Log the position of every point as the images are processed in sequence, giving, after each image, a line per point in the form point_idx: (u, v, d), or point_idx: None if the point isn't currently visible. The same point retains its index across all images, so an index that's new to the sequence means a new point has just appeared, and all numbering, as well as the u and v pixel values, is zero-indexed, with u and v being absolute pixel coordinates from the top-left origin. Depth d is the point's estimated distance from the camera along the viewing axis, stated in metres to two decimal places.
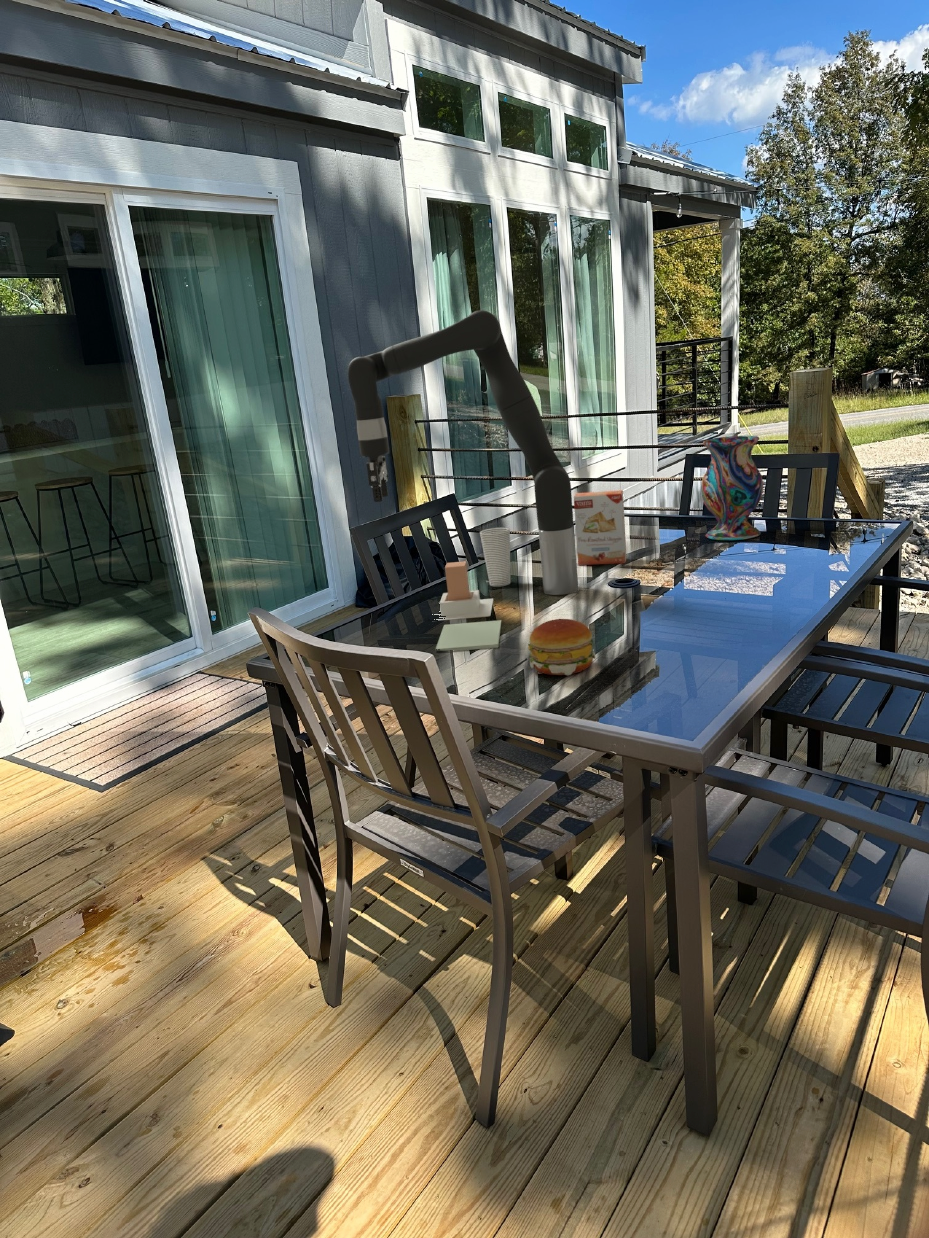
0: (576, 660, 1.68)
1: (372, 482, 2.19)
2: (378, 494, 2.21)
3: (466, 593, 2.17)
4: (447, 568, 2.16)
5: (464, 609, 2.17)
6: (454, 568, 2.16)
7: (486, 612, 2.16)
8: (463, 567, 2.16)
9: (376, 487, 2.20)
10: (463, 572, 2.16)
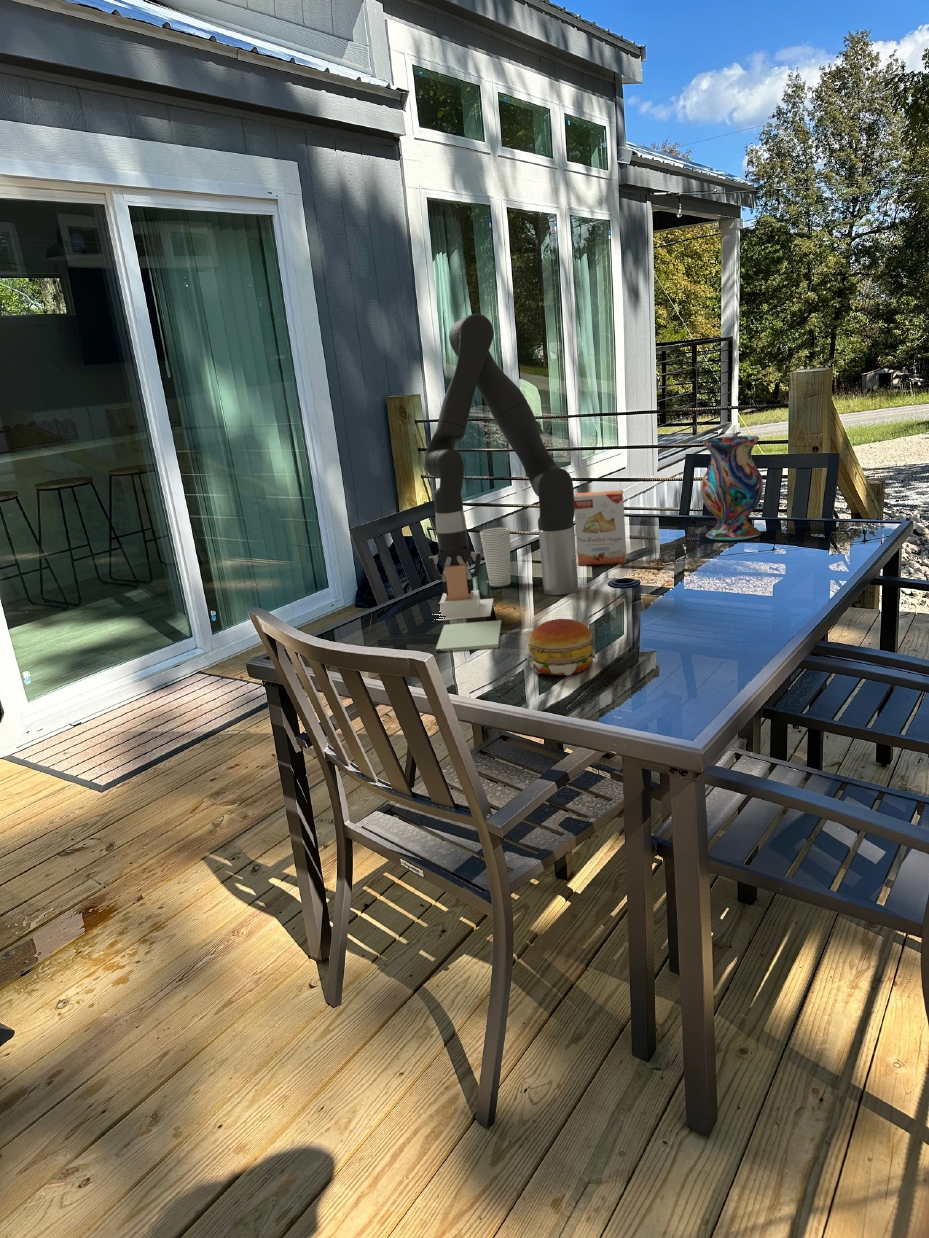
0: (576, 660, 1.68)
1: None
2: None
3: (466, 593, 2.17)
4: (447, 568, 2.16)
5: (464, 609, 2.17)
6: (454, 568, 2.16)
7: (486, 612, 2.16)
8: (463, 567, 2.16)
9: (473, 577, 2.19)
10: (463, 572, 2.16)
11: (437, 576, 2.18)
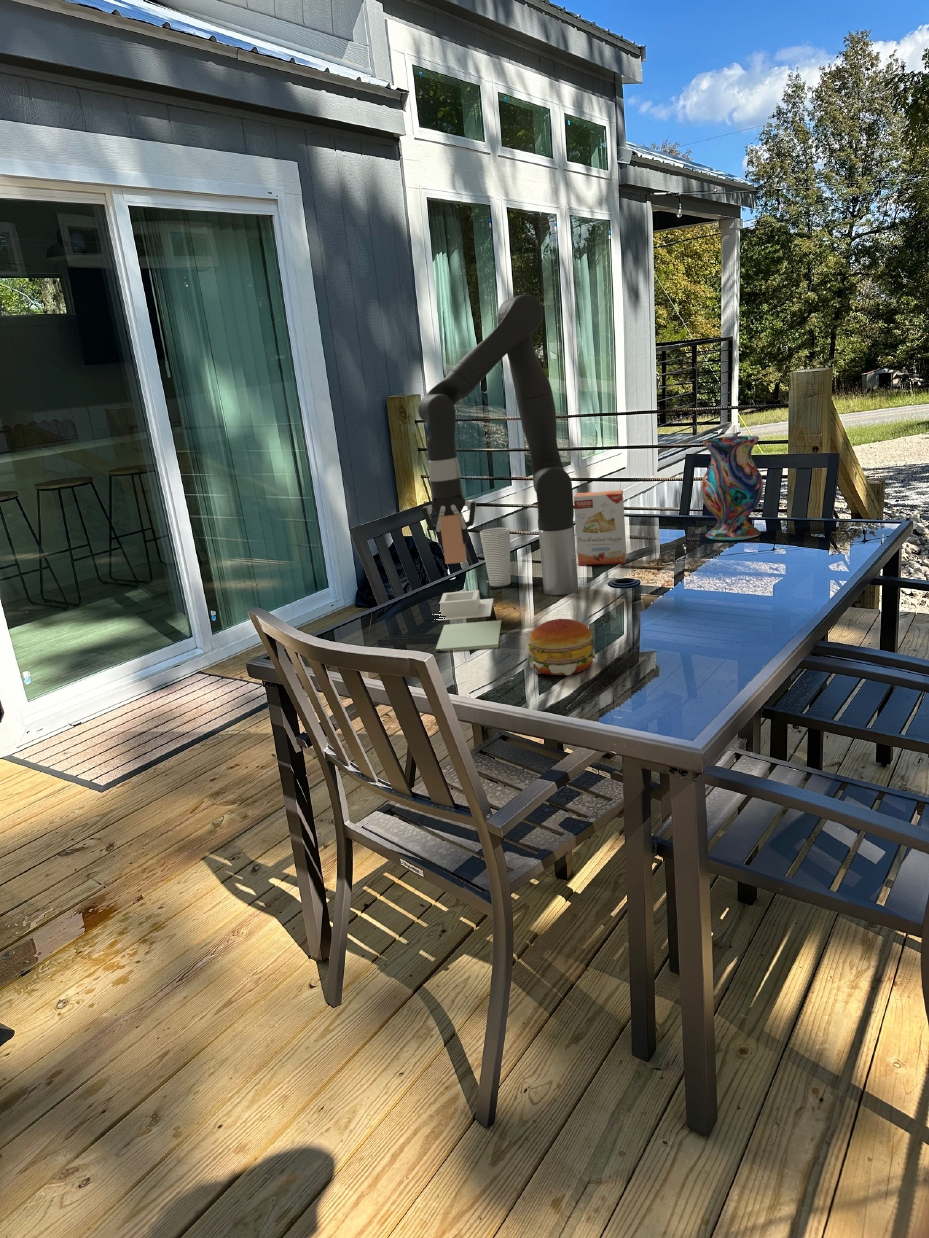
0: (576, 660, 1.68)
1: None
2: None
3: (461, 543, 2.14)
4: (441, 518, 2.12)
5: (464, 609, 2.17)
6: (448, 517, 2.12)
7: (486, 612, 2.16)
8: (457, 516, 2.12)
9: None
10: (458, 521, 2.12)
11: (431, 526, 2.14)
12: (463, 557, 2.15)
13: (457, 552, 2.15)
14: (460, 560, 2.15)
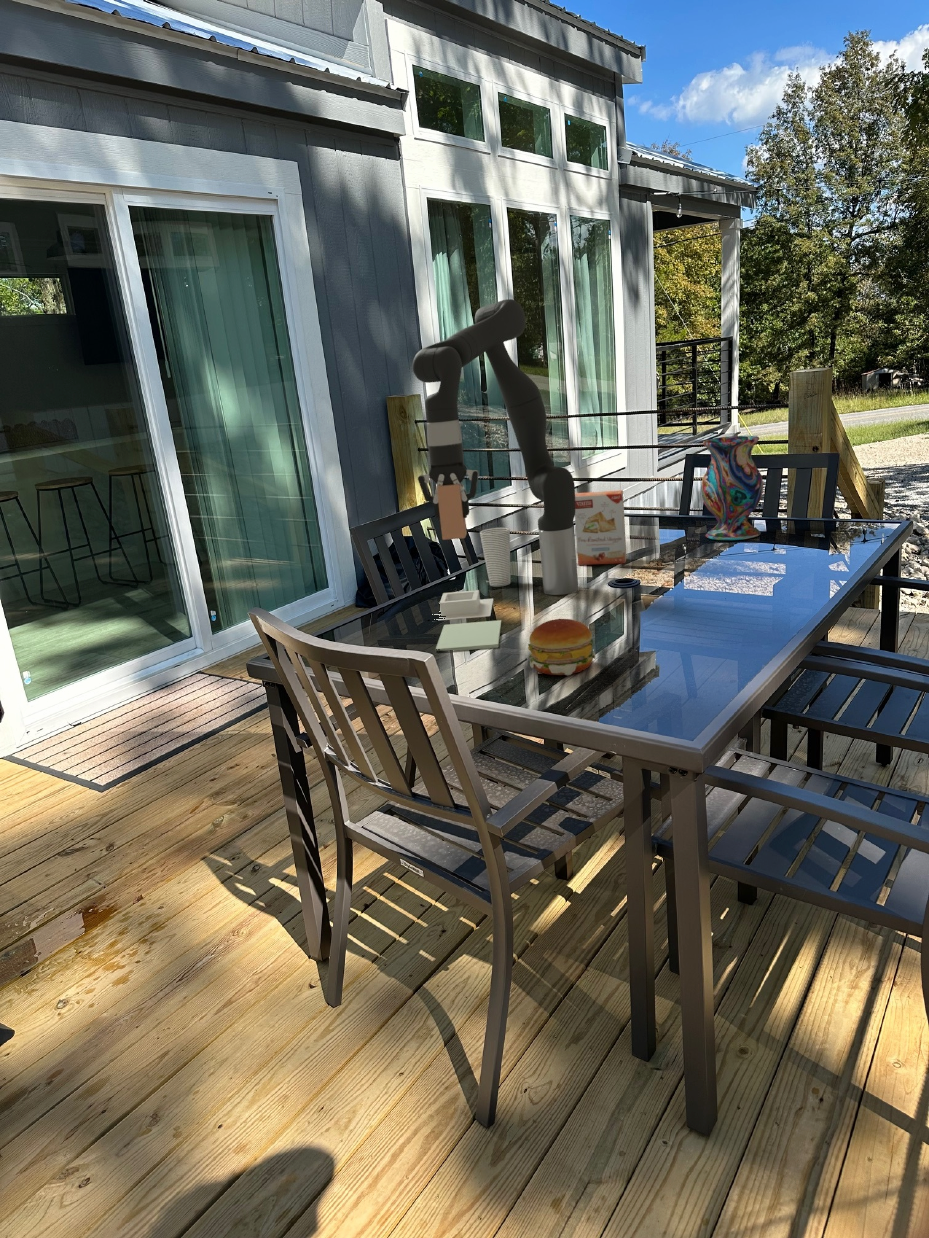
0: (576, 660, 1.68)
1: None
2: None
3: (460, 517, 1.91)
4: (439, 487, 1.90)
5: (464, 609, 2.17)
6: (447, 487, 1.90)
7: (486, 612, 2.16)
8: (457, 486, 1.89)
9: (468, 499, 1.93)
10: (457, 492, 1.90)
11: (428, 497, 1.92)
12: (462, 532, 1.92)
13: (456, 527, 1.92)
14: (459, 536, 1.93)
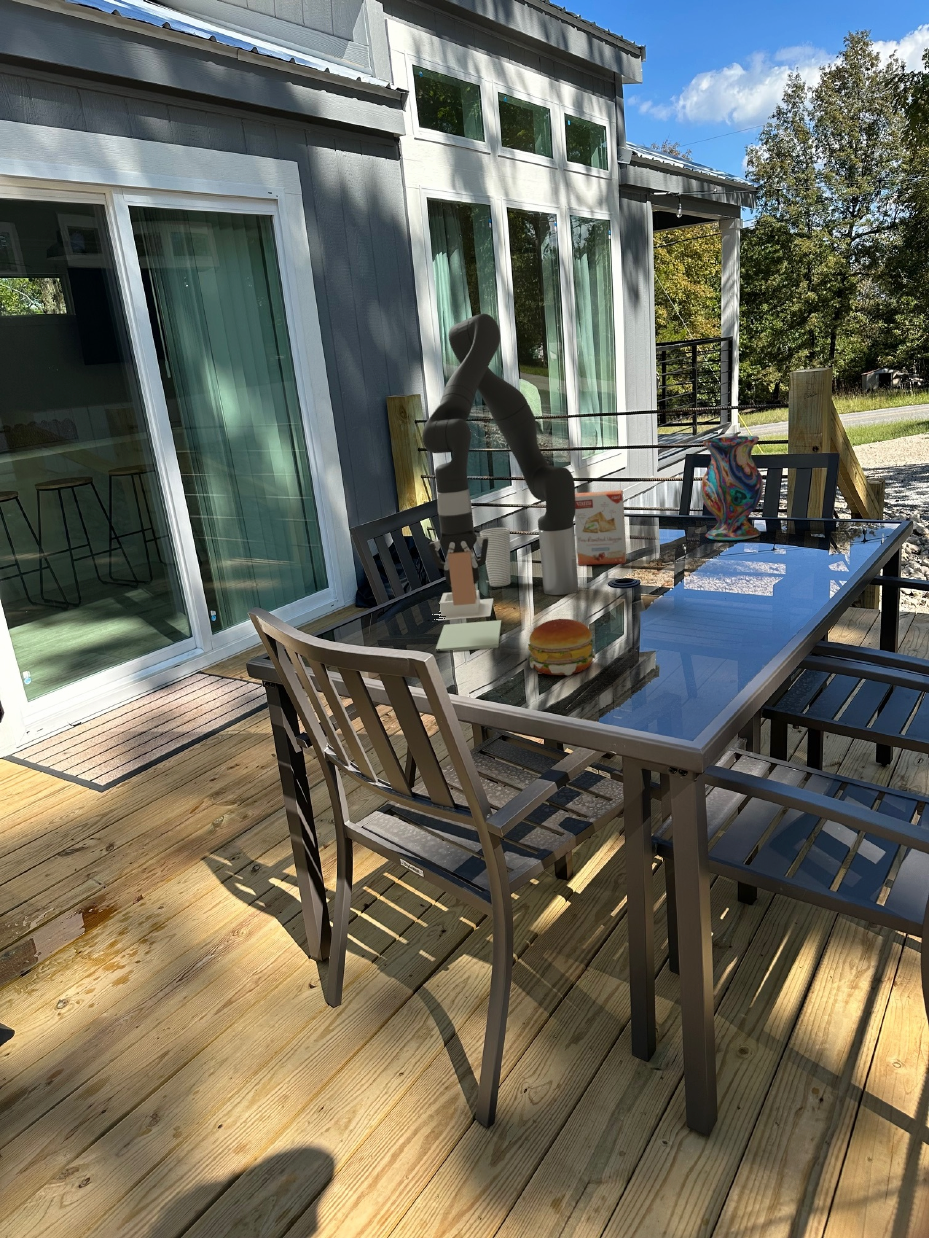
0: (576, 660, 1.68)
1: None
2: None
3: (471, 583, 1.94)
4: (450, 555, 1.92)
5: (464, 609, 2.17)
6: (458, 555, 1.92)
7: (486, 612, 2.16)
8: (468, 554, 1.92)
9: None
10: (468, 559, 1.92)
11: (439, 564, 1.95)
12: (473, 598, 1.95)
13: (467, 593, 1.95)
14: (470, 601, 1.95)
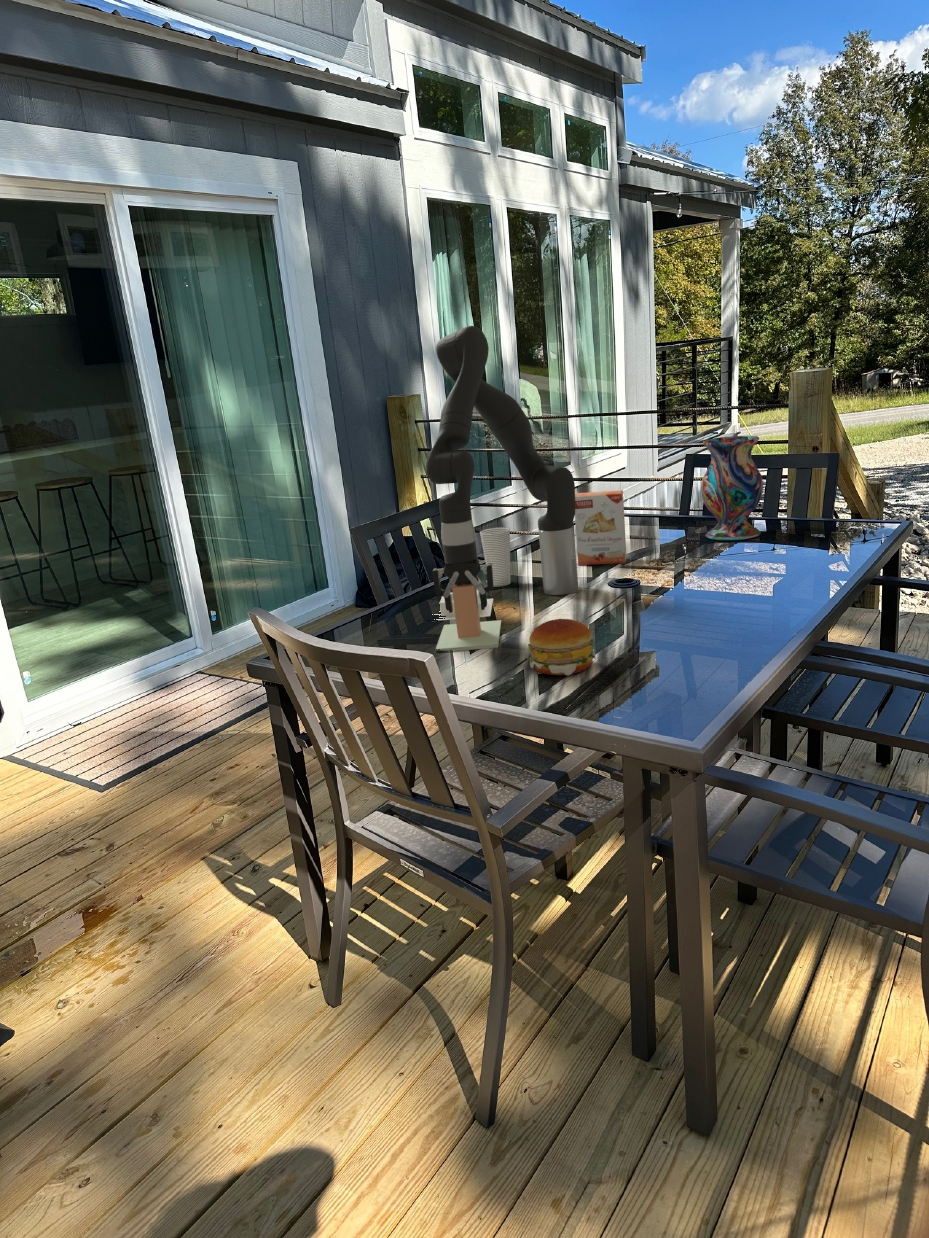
0: (576, 660, 1.68)
1: None
2: (486, 599, 1.98)
3: (475, 616, 1.96)
4: (454, 589, 1.95)
5: None
6: (462, 589, 1.95)
7: (486, 612, 2.16)
8: (472, 587, 1.94)
9: (486, 592, 1.97)
10: (472, 593, 1.95)
11: (439, 591, 1.96)
12: (477, 631, 1.97)
13: (471, 626, 1.97)
14: (474, 634, 1.97)
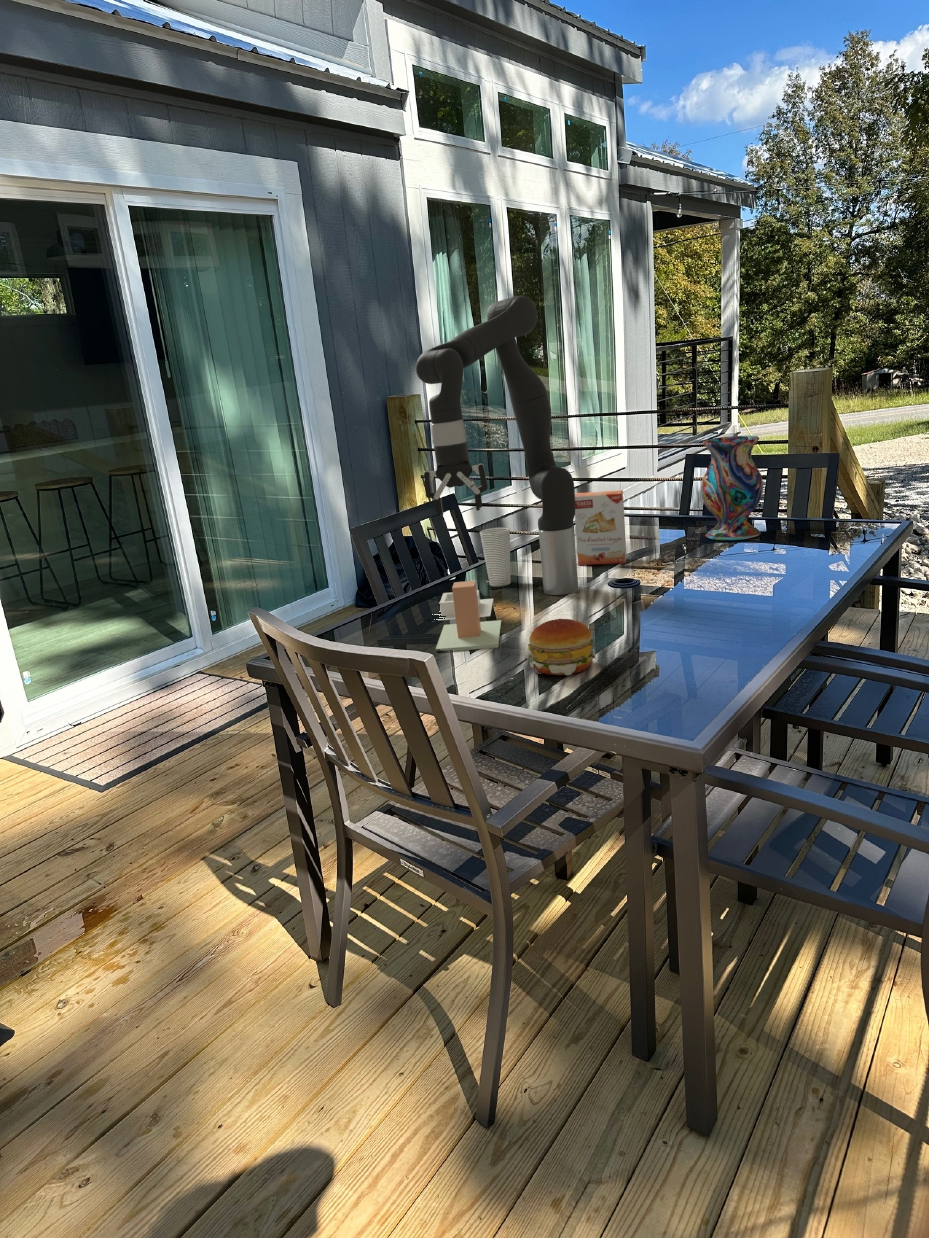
0: (576, 660, 1.68)
1: (486, 485, 1.96)
2: (481, 500, 1.98)
3: (475, 616, 1.96)
4: (454, 589, 1.95)
5: None
6: (462, 589, 1.95)
7: (486, 612, 2.16)
8: (472, 587, 1.94)
9: (481, 492, 1.97)
10: (472, 593, 1.95)
11: (429, 494, 1.96)
12: (477, 631, 1.97)
13: (471, 626, 1.97)
14: (474, 634, 1.97)
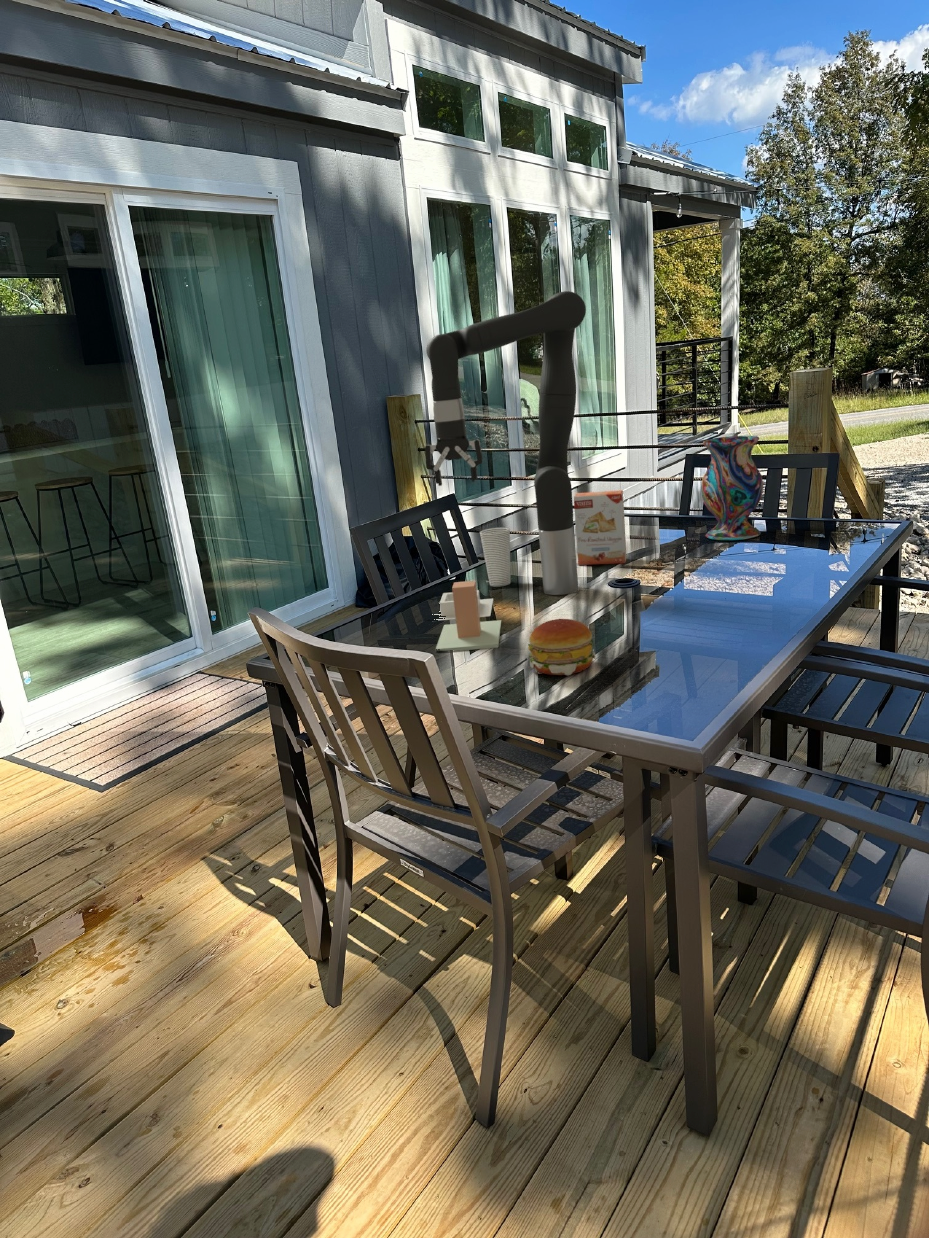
0: (576, 660, 1.68)
1: (481, 459, 2.15)
2: None
3: (475, 616, 1.96)
4: (454, 589, 1.95)
5: None
6: (462, 589, 1.95)
7: (486, 612, 2.16)
8: (472, 587, 1.94)
9: (476, 466, 2.17)
10: (472, 593, 1.95)
11: (429, 465, 2.16)
12: (477, 631, 1.97)
13: (471, 626, 1.97)
14: (474, 634, 1.97)
